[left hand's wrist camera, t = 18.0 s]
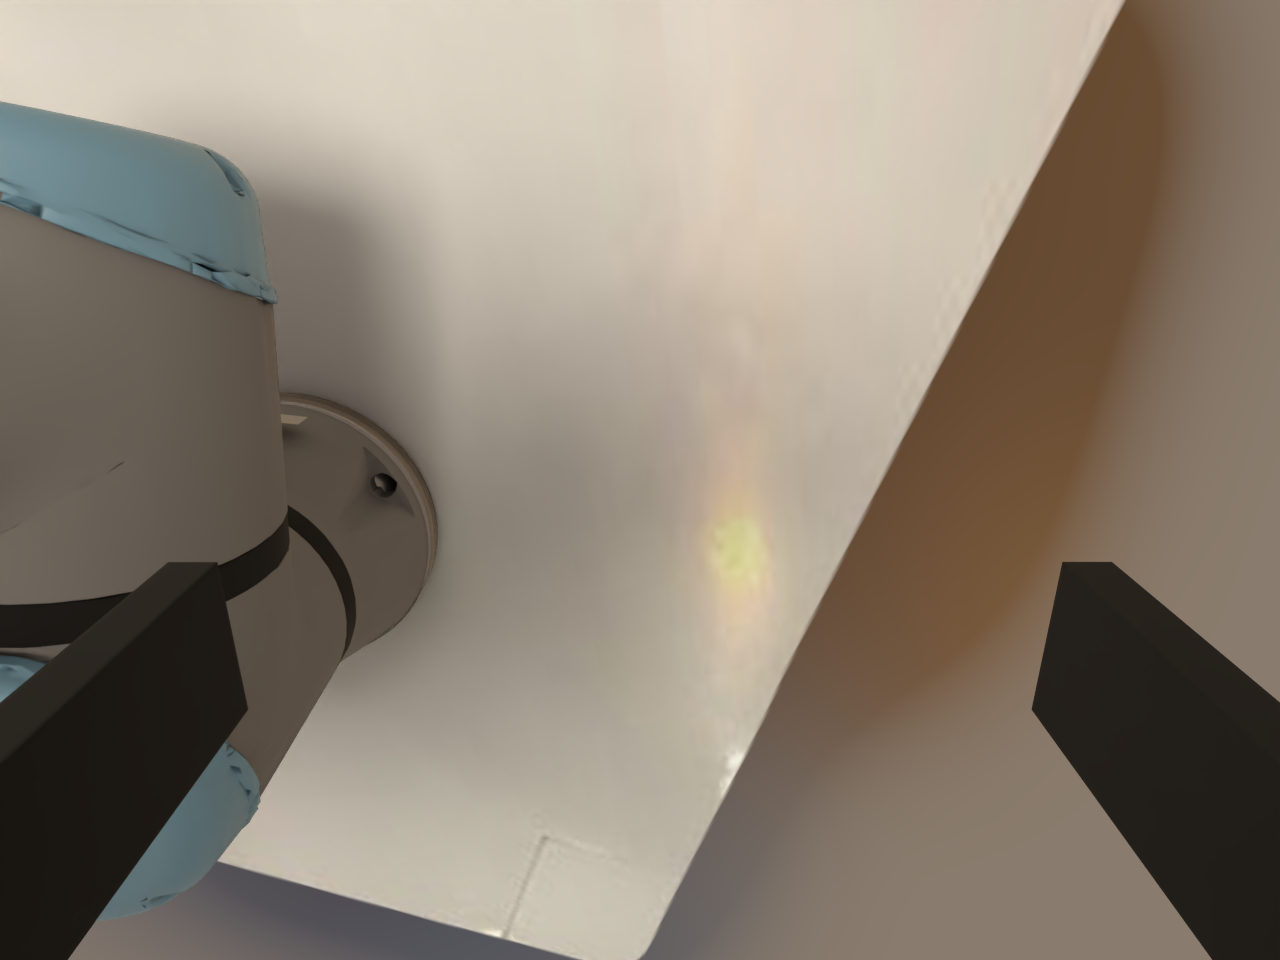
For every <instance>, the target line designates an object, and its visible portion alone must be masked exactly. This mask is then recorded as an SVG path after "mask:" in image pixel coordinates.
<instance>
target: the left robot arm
mask: <svg viewBox="0 0 1280 960" xmlns="http://www.w3.org/2000/svg"><path fill="white" fill-rule="evenodd" d="M273 304H277V294H276V291H275V289H274V288H273V287H272V286H271V285H270V284H269V278H268V272H267V265H266V257H265V250H264V242H263V235H262V227H261V220H260V212H259V206H258V201H257V198H256V195H255V193H254V191H253V189H252V187H251V185H250V183H249V181H248V180H247V179H246V177H245V176H244V175H243V173H242V172H241V171H240V170H239V169H238V168H237V167H236V166H235V165H234V164H233V163H231V162H230V161H229V160H227V159H226V158H225V157H223V156H222V155H220V154H218V153H216V152H214V151H212V150H210V149H208V148H205V147H203V146H200V145H196V144H193V143H189V142H185V141H182V140H178V139H174V138H170V137H165V136H161V135H157V134H153V133H149V132H144V131H140V130H135V129H131V128H126V127H122V126H117V125H113V124H108V123H103V122H99V121H94V120H89V119H85V118H80V117H75V116H70V115H65V114H61V113H56V112H51V111H46V110H41V109H36V108H31V107H26V106H21V105H16V104H11V103H6V102H1V101H0V960H68V959H69V957H70V956H71V954H72V953H73V952H74V950H75V949H76V947H77V946H78V945H79V943H80V942H81V941H82V939H83V938H84V936H85V935H86V934H87V932H88V931H89V929H90V928H91V927H92V925H93V924H94V922H95V921H102V920H110V919H117V918H123V917H127V916H131V915H135V914H139V913H142V912H145V911H148V910H151V909H153V908H156V907H158V906H160V905H163V904H165V903H167V902H169V901H170V900H172V899H174V898H175V897H176V896H177V895H178V894H179V893H181V892H184V891H186V890H187V889H188V888H190V887H192V886H194V885H195V884H196V883H197V882H199V881H200V880H201V879H202V878H203V877H204V876H205V875H206V874H207V873H208V872H209V870H210V869H211V868H212V867H213V865H214V864H215V863H216V861H217V860H218V859H219V858H220V856H221V855H222V854H223V852H224V851H225V850H226V849H227V847H228V846H229V845H230V843H231V842H232V841H233V840H234V838H235V837H236V836H237V834H238V833H239V832H240V831H241V829H242V828H244V827H245V826H246V825H247V824H248V823H249V822H250V820H251V818H252V816H253V815H254V814H255V812H256V811H257V809H258V807H257V806H258V805H259V803H260V796H261V795H262V793H263V791H264V790H265V788H266V786H267V785H268V783H269V781H270V780H271V778H272V776H273V774H274V773H275V771H276V769H277V768H278V766H279V764H280V763H281V761H282V759H283V758H284V756H285V754H286V753H287V751H288V749H289V748H290V746H291V744H292V743H293V741H294V739H295V738H296V736H297V734H298V732H299V731H300V729H301V727H302V726H303V724H304V722H305V721H306V719H307V717H308V716H309V714H310V712H311V711H312V709H313V707H314V706H315V704H316V702H317V701H318V699H319V697H320V695H321V694H322V692H323V690H324V689H325V687H326V685H327V684H328V682H329V680H330V679H331V677H332V675H333V674H334V672H335V670H336V668H337V666H338V665H339V663H340V661H342V660H344V659H345V658H347V657H348V656H350V655H351V654H353V653H355V652H356V651H358V650H359V649H360V648H362V647H363V646H365V645H367V644H369V643H371V642H373V641H375V640H376V639H378V638H380V637H381V636H383V635H384V634H386V633H387V632H388V631H390V630H391V629H392V628H394V627H395V626H396V625H397V624H398V623H399V622H400V621H401V620H402V619H403V618H404V617H405V615H406V614H407V613H408V612H409V611H410V609H411V608H412V606H413V605H414V603H415V602H416V600H417V598H418V596H419V594H420V592H421V590H422V588H423V586H424V584H425V582H426V581H427V579H428V577H429V574H430V571H431V569H432V566H433V562H434V558H435V553H436V546H437V523H436V516H435V511H434V506H433V503H432V500H431V496H430V494H429V491H428V489H427V486H426V484H425V482H424V480H423V478H422V476H421V474H420V472H419V471H418V469H417V468H416V466H415V465H414V463H413V461H412V460H411V459H410V458H409V456H408V455H407V454H406V452H405V451H404V450H403V449H402V448H401V447H400V446H399V445H398V444H397V442H396V441H395V440H394V439H393V438H391V437H390V436H389V435H388V434H387V433H386V432H385V431H383V430H382V429H381V428H380V427H378V426H377V425H376V424H374V423H373V422H371V421H370V420H368V419H367V418H365V417H363V416H362V415H360V414H358V413H356V412H354V411H352V410H350V409H348V408H346V407H344V406H342V405H339V404H336V403H334V402H331V401H328V400H324V399H321V398H318V397H313V396H308V395H302V394H293V393H279V384H278V370H277V356H276V342H275V328H274V314H273ZM1032 711H1033V712H1034V713H1035V715H1036V716H1037V718H1038V719H1039V720H1040V722H1041V723H1042V725H1043V726H1044V727H1045V729H1046V730H1047V731H1048V733H1049V734H1050V736H1051V737H1052V738H1053V740H1054V741H1055V743H1056V744H1057V745H1058V747H1059V748H1060V749H1061V751H1062V752H1063V754H1064V755H1065V756H1066V758H1067V759H1068V761H1069V762H1070V763H1071V765H1072V766H1073V767H1074V769H1075V770H1076V772H1077V773H1078V774H1079V776H1080V777H1081V779H1082V780H1083V781H1084V783H1085V784H1086V785H1087V787H1088V788H1089V790H1090V791H1091V792H1092V794H1093V795H1094V797H1095V798H1096V799H1097V801H1098V802H1099V803H1100V805H1101V806H1102V808H1103V809H1104V810H1105V812H1106V813H1107V815H1108V816H1109V817H1110V819H1111V820H1112V821H1113V823H1114V824H1115V826H1116V827H1117V828H1118V830H1119V831H1120V833H1121V834H1122V835H1123V837H1124V838H1125V839H1126V841H1127V842H1128V844H1129V845H1130V846H1131V848H1132V849H1133V851H1134V852H1135V853H1136V855H1137V856H1138V857H1139V859H1140V860H1141V862H1142V863H1143V864H1144V866H1145V867H1146V869H1147V870H1148V871H1149V873H1150V874H1151V875H1152V877H1153V878H1154V880H1155V881H1156V882H1157V884H1158V885H1159V887H1160V888H1161V889H1162V891H1163V892H1164V893H1165V895H1166V896H1167V898H1168V899H1169V900H1170V902H1171V903H1172V905H1173V906H1174V907H1175V909H1176V910H1177V911H1178V913H1179V914H1180V916H1181V917H1182V918H1183V920H1184V921H1185V923H1186V924H1187V925H1188V927H1189V928H1190V929H1191V931H1192V932H1193V934H1194V935H1195V936H1196V938H1197V939H1198V941H1199V942H1200V943H1201V945H1202V946H1203V947H1204V949H1205V950H1206V952H1207V953H1208V954H1209V956H1210V957H1211V959H1212V960H1280V702H1279V701H1277V700H1276V699H1275V698H1274V697H1272V696H1271V695H1270V694H1269V693H1268V692H1267V691H1265V690H1264V689H1263V688H1262V687H1261V686H1259V685H1258V684H1257V683H1256V682H1255V681H1253V680H1252V679H1251V678H1250V677H1249V676H1247V675H1246V674H1245V673H1244V672H1243V671H1241V670H1240V669H1239V668H1238V667H1237V666H1236V665H1234V664H1233V663H1232V662H1231V661H1230V660H1228V659H1227V658H1226V657H1225V656H1224V655H1222V654H1221V653H1220V652H1219V651H1218V650H1216V649H1215V648H1214V647H1213V646H1212V645H1210V644H1209V643H1208V642H1207V641H1206V640H1204V639H1203V638H1202V637H1201V636H1200V635H1198V634H1197V633H1196V632H1195V631H1194V630H1192V629H1191V628H1190V627H1189V626H1188V625H1186V624H1185V623H1184V622H1183V621H1182V620H1181V619H1179V618H1178V617H1177V616H1176V615H1175V614H1173V613H1172V612H1171V611H1170V610H1169V609H1167V608H1166V607H1165V606H1164V605H1163V604H1161V603H1160V602H1159V601H1158V600H1156V599H1155V598H1154V597H1153V596H1152V595H1151V594H1149V593H1148V592H1147V591H1146V590H1145V589H1143V588H1142V587H1141V586H1140V585H1139V584H1138V583H1136V582H1135V581H1134V580H1133V579H1132V578H1130V577H1129V576H1128V575H1127V574H1126V573H1124V572H1123V571H1122V570H1121V569H1120V568H1118V567H1117V566H1116V565H1115V564H1114V563H1112V562H1063V563H1062V567H1061V572H1060V577H1059V581H1058V586H1057V591H1056V596H1055V600H1054V605H1053V610H1052V615H1051V619H1050V624H1049V629H1048V634H1047V639H1046V643H1045V648H1044V653H1043V658H1042V662H1041V667H1040V672H1039V677H1038V682H1037V686H1036V691H1035V696H1034V701H1033V706H1032Z"/></svg>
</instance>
